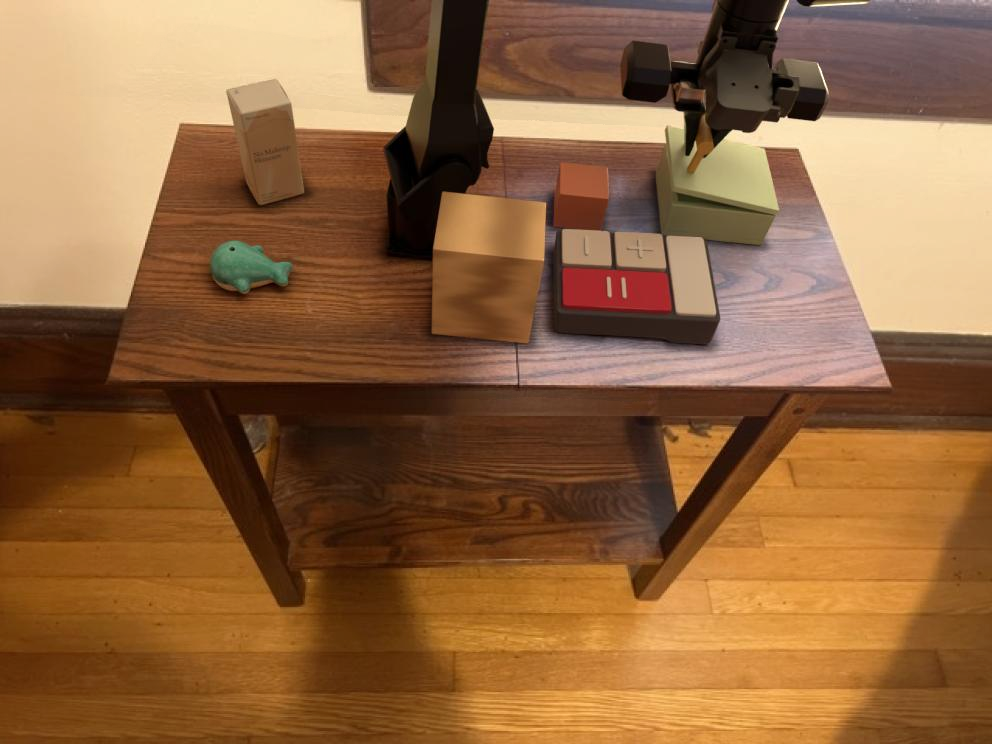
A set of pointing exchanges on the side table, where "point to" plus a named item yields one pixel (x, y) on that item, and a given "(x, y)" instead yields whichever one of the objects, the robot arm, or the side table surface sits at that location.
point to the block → (581, 196)
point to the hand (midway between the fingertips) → (694, 154)
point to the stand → (487, 266)
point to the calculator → (634, 285)
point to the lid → (720, 170)
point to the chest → (706, 214)
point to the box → (266, 140)
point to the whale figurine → (246, 267)
